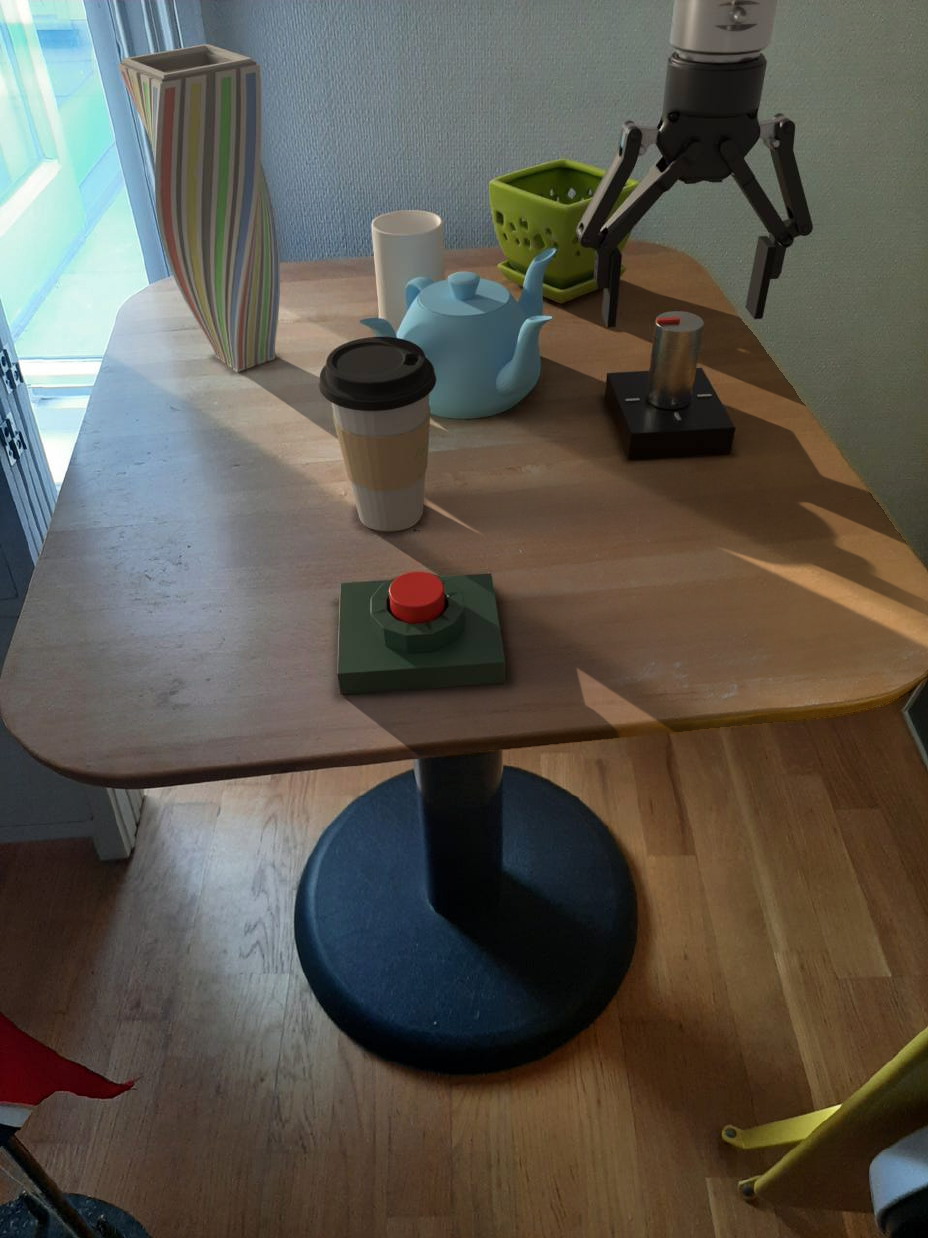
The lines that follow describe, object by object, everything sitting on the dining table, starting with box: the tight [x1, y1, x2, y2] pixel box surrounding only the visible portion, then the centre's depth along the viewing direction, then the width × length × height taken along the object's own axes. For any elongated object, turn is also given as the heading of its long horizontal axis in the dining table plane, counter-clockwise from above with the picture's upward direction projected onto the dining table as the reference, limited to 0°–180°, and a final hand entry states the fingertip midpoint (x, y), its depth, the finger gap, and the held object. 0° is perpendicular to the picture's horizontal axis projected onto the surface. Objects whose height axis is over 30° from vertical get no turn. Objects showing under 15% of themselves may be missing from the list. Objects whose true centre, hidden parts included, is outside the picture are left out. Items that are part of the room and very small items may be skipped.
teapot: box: [359, 248, 556, 420], centre depth 95 cm, size 17×19×12 cm
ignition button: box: [389, 571, 445, 624], centre depth 68 cm, size 4×4×2 cm
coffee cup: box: [318, 336, 436, 533], centre depth 78 cm, size 9×9×15 cm
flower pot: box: [488, 158, 641, 304], centre depth 115 cm, size 14×14×13 cm
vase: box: [116, 43, 281, 373], centre depth 96 cm, size 14×14×30 cm
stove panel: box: [604, 367, 737, 461], centre depth 92 cm, size 12×10×3 cm
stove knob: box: [646, 310, 705, 409], centre depth 88 cm, size 4×4×8 cm
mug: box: [371, 209, 446, 334], centre depth 109 cm, size 12×8×12 cm
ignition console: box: [336, 572, 506, 696], centre depth 69 cm, size 10×12×4 cm
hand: (681, 317), depth 85 cm, fingers open, 13 cm apart
